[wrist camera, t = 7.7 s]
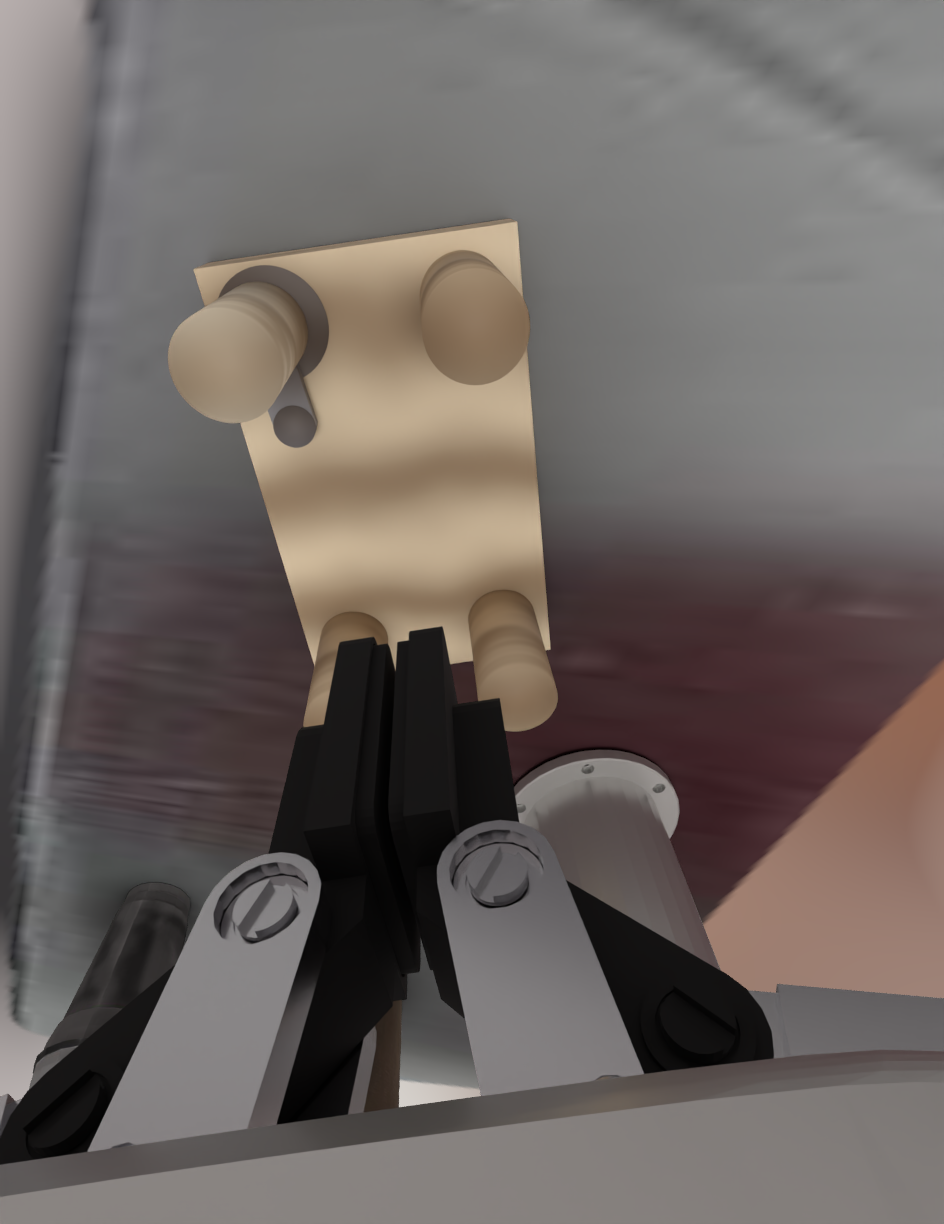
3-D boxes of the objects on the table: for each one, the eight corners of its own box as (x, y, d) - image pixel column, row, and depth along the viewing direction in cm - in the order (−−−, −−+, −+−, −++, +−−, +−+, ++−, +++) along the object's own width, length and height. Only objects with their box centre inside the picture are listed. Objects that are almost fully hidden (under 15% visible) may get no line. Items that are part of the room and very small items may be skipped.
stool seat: (543, 625, 41) (575, 734, 33) (324, 656, 41) (303, 773, 33) (509, 218, 30) (545, 234, 22) (208, 262, 30) (134, 294, 22)
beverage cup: (91, 914, 52) (-65, 1273, 35) (128, 857, 49) (-22, 1218, 32) (186, 942, 54) (84, 1289, 37) (226, 889, 51) (135, 1240, 34)
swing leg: (342, 432, 31) (325, 492, 25) (265, 450, 32) (230, 514, 26) (291, 271, 28) (257, 297, 22) (204, 292, 28) (148, 324, 22)
